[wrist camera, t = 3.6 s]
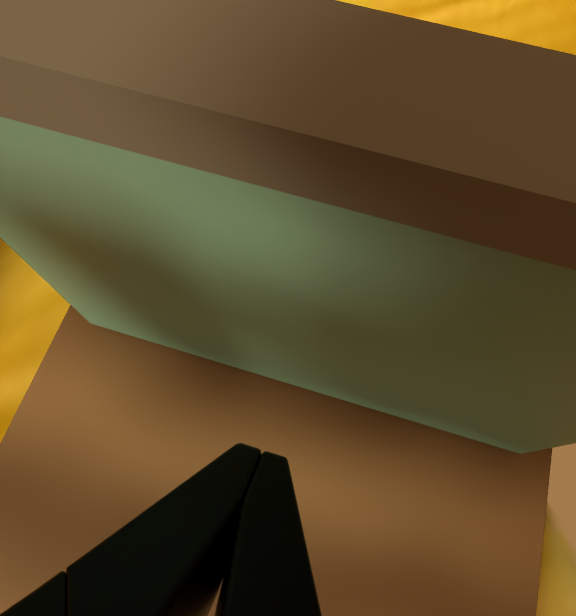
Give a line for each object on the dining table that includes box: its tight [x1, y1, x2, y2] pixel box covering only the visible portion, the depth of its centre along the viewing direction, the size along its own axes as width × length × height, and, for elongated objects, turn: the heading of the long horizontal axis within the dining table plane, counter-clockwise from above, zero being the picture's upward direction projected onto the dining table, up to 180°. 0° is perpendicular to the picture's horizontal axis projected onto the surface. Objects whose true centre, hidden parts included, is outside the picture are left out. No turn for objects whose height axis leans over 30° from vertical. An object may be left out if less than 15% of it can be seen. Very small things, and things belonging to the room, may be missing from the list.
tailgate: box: [0, 0, 576, 454], centre depth 10 cm, size 2×14×12 cm, turn 73°
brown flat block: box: [0, 305, 552, 616], centre depth 15 cm, size 14×16×4 cm
